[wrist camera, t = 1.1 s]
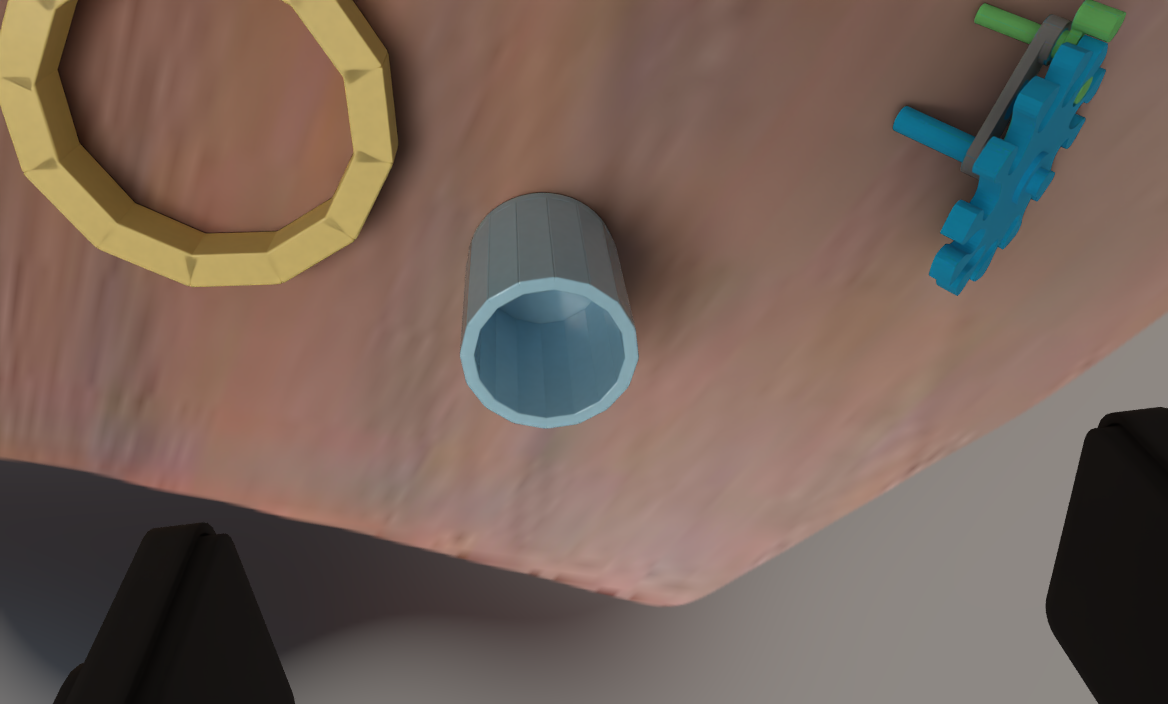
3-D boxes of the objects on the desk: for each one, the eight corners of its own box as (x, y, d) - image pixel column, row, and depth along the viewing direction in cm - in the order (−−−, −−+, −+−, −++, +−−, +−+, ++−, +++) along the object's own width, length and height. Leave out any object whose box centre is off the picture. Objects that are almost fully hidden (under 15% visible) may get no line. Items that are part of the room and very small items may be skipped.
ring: (-16, 171, 35) (-42, 192, 34) (77, -175, 30) (51, -172, 28) (317, 312, 39) (308, 336, 38) (453, 32, 34) (451, 46, 32)
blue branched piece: (993, 301, 40) (939, 308, 31) (872, 236, 42) (793, 227, 34) (1150, 51, 36) (1136, -16, 28) (1007, -2, 39) (955, -79, 30)
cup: (438, 239, 38) (425, 333, 32) (569, 164, 37) (583, 246, 30) (518, 348, 41) (521, 453, 35) (641, 282, 40) (668, 379, 34)
